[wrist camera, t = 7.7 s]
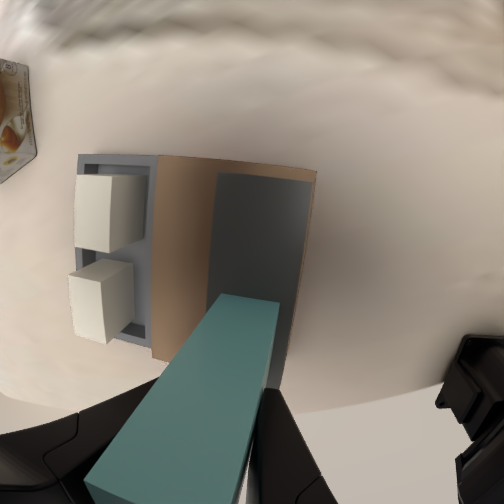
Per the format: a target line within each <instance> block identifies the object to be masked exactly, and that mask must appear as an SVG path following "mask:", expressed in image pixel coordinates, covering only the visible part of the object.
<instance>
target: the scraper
mask: <svg viewBox="0 0 504 504" xmlns="http://www.w3.org/2000/svg"><path fill="white" fill-rule="evenodd" d="M312 184H313V182H306V181H299V180H291V179H284V178H275V177H267V176H258V175H249V174H239V173H228V172H217V178H216V188H215V199H214V209H213V220H212V232H211V244H210V257H209V270H208V284H207V299H206V315H205V316H204V317H203V319H202V320H201V321H200V323H199V324H198V325H197V327H196V328H195V329H194V331H193V332H192V334H191V335H190V336H189V338H188V339H187V340H186V342H185V343H184V344H183V346H182V347H181V348H180V350H179V351H178V352H177V354H176V355H175V357H174V358H173V359H172V361H171V362H170V363H169V365H168V366H167V367H166V369H165V370H164V371H163V373H162V374H161V376H160V377H159V378H158V380H157V381H156V382H155V384H154V385H153V386H152V388H151V389H150V390H149V392H148V393H147V395H146V396H145V397H144V399H143V400H142V401H141V403H140V404H139V405H138V407H137V408H136V409H135V411H134V412H133V413H132V415H131V416H130V418H129V419H128V420H127V422H126V423H125V424H124V426H123V427H122V428H121V430H120V431H119V432H118V434H117V435H116V437H115V438H114V439H113V441H112V442H111V443H110V445H109V446H108V447H107V449H106V450H105V451H104V453H103V454H102V456H101V457H100V458H99V460H98V461H97V462H96V464H95V465H94V466H93V468H92V469H91V470H90V472H89V473H88V475H87V476H86V477H85V479H84V482H85V484H86V486H87V488H88V490H89V492H90V494H91V496H92V498H93V500H94V502H95V504H238V502H239V498H240V494H241V490H242V487H243V483H244V479H245V475H246V470H247V467H248V462H249V458H250V454H251V449H252V444H253V438H254V433H255V427H256V421H257V416H258V410H259V406H260V402H261V398H262V394H263V390H264V388H266V387H267V388H274V389H279V388H280V383H281V378H282V373H283V368H284V363H285V357H286V352H287V347H288V341H289V336H290V330H291V325H292V319H293V313H294V307H295V301H296V295H297V289H298V283H299V277H300V270H301V264H302V257H303V251H304V244H305V237H306V230H307V223H308V215H309V208H310V200H311V192H312Z"/></svg>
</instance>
